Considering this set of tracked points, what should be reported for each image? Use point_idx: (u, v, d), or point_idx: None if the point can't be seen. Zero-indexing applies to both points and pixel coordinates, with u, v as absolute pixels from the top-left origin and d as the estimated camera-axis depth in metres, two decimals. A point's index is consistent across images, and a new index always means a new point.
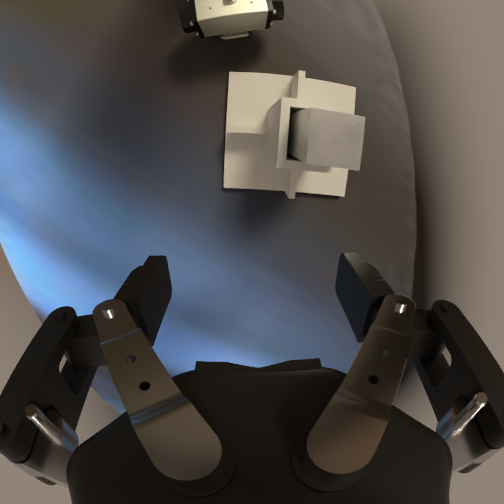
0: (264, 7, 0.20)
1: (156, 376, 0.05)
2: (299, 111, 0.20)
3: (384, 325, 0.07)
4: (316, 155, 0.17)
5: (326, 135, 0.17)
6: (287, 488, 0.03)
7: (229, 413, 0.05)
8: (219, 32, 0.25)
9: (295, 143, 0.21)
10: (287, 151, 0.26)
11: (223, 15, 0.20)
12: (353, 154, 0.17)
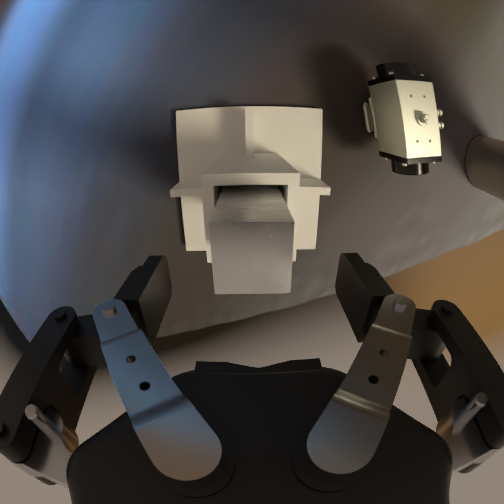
0: (411, 154, 0.21)
1: (156, 376, 0.05)
2: (283, 199, 0.16)
3: (384, 325, 0.07)
4: (224, 235, 0.13)
5: (255, 245, 0.13)
6: (287, 488, 0.03)
7: (229, 413, 0.05)
8: (374, 101, 0.23)
9: (237, 196, 0.17)
10: None
11: (401, 108, 0.19)
12: (235, 283, 0.14)
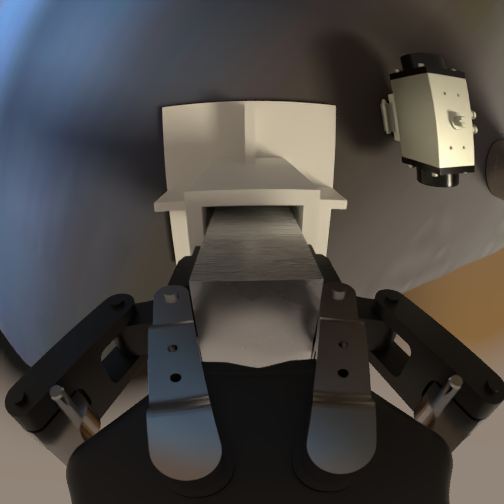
0: (444, 163, 0.16)
1: (190, 371, 0.05)
2: (298, 228, 0.12)
3: (330, 316, 0.08)
4: (214, 299, 0.08)
5: (262, 313, 0.08)
6: (287, 488, 0.03)
7: (229, 413, 0.05)
8: (398, 98, 0.19)
9: (234, 223, 0.12)
10: None
11: (434, 107, 0.14)
12: (232, 358, 0.09)
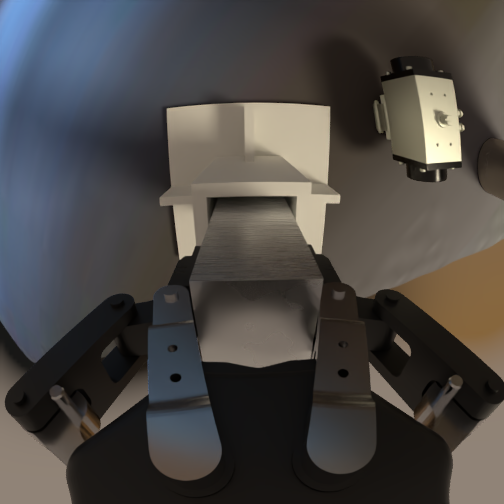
0: (431, 159, 0.18)
1: (190, 371, 0.05)
2: (298, 228, 0.12)
3: (330, 316, 0.08)
4: (214, 299, 0.08)
5: (262, 312, 0.08)
6: (287, 488, 0.03)
7: (229, 413, 0.05)
8: (388, 99, 0.20)
9: (234, 223, 0.12)
10: (219, 200, 0.16)
11: (420, 107, 0.16)
12: (232, 357, 0.09)
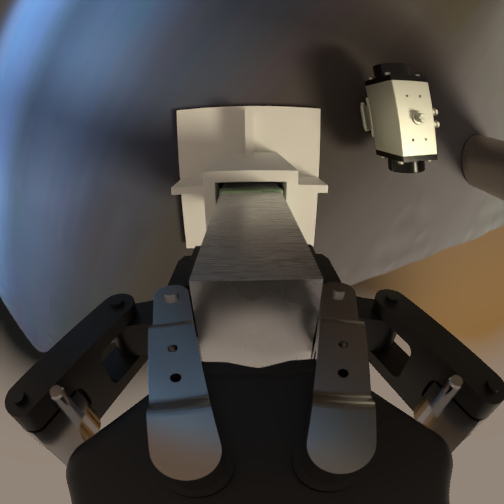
0: (407, 152, 0.21)
1: (190, 371, 0.05)
2: (298, 228, 0.12)
3: (330, 316, 0.08)
4: (213, 299, 0.08)
5: (262, 313, 0.08)
6: (287, 488, 0.03)
7: (229, 413, 0.05)
8: (371, 101, 0.24)
9: (234, 223, 0.12)
10: (219, 200, 0.16)
11: (397, 108, 0.20)
12: (232, 358, 0.09)
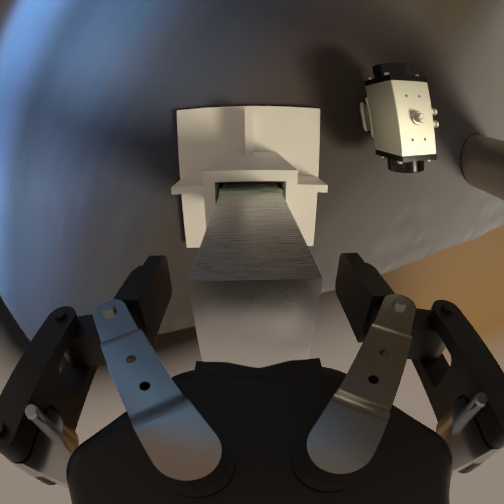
0: (406, 152, 0.22)
1: (156, 376, 0.05)
2: (298, 228, 0.12)
3: (384, 325, 0.07)
4: (213, 298, 0.08)
5: (261, 312, 0.08)
6: (287, 488, 0.03)
7: (229, 413, 0.05)
8: (371, 101, 0.24)
9: (233, 223, 0.12)
10: (219, 200, 0.16)
11: (396, 108, 0.20)
12: (231, 357, 0.09)
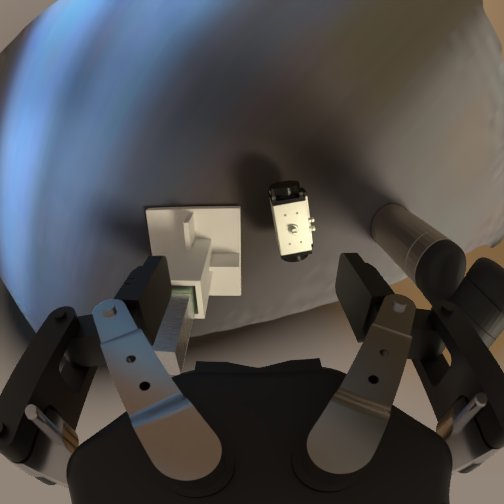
0: (284, 253, 0.40)
1: (156, 376, 0.05)
2: (181, 326, 0.29)
3: (384, 325, 0.07)
4: None
5: (160, 358, 0.26)
6: (287, 488, 0.03)
7: (229, 413, 0.05)
8: (271, 208, 0.42)
9: None
10: None
11: (276, 225, 0.38)
12: None
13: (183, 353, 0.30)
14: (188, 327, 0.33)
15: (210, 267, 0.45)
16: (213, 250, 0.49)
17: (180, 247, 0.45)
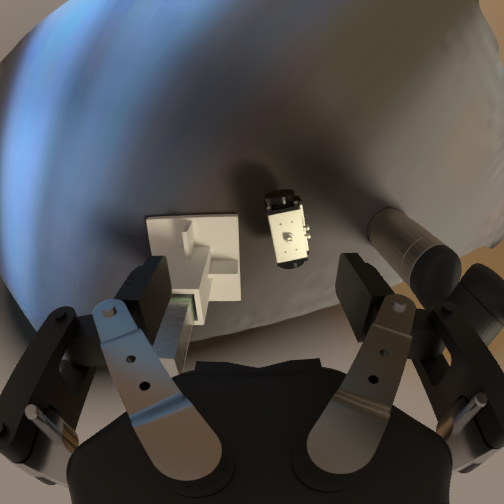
0: (280, 260, 0.41)
1: (156, 376, 0.05)
2: (180, 334, 0.31)
3: (384, 325, 0.07)
4: None
5: None
6: (287, 488, 0.03)
7: (229, 413, 0.05)
8: None
9: (159, 329, 0.31)
10: None
11: (271, 234, 0.39)
12: None
13: (182, 359, 0.31)
14: (187, 334, 0.34)
15: (209, 274, 0.47)
16: (212, 257, 0.51)
17: (180, 255, 0.46)
